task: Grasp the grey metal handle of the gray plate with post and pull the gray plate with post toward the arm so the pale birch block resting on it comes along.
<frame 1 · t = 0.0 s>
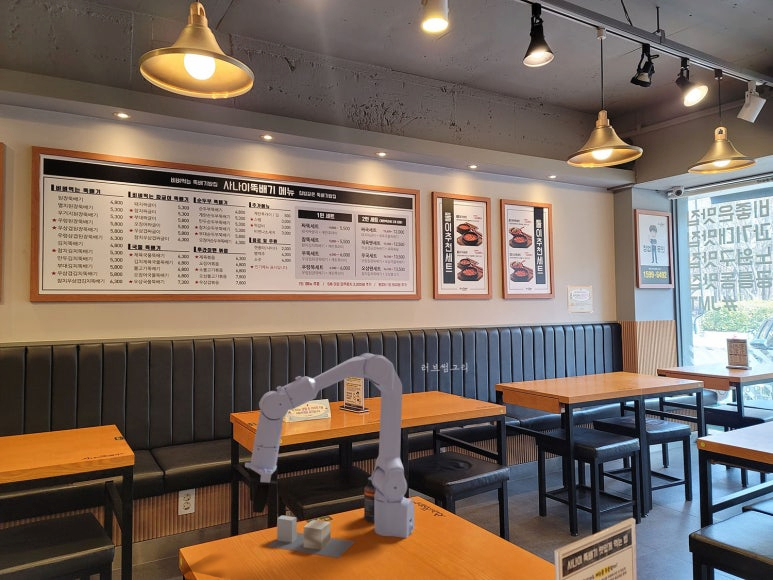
hand: (256, 506, 118), 11 cm above the table, tool pointing down, fingers open, 7 cm apart
birch block: (317, 544, 120), point 1 cm above the table, touching gray plate with post
gray plate with post: (311, 534, 121), point 3 cm above the table, slide at 0.0 cm, touching birch block
supplement bottle: (375, 523, 136), on the table
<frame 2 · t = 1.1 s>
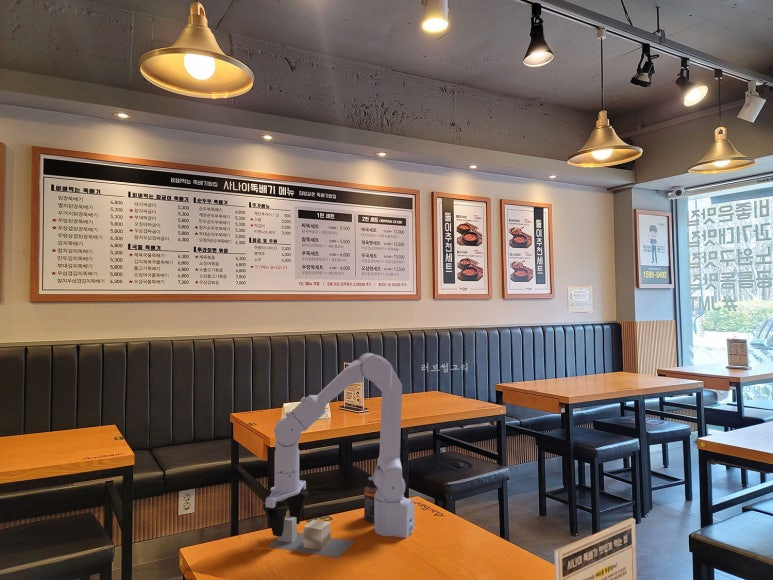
hand: (286, 529, 123), 3 cm above the table, tool pointing down, fingers open, 7 cm apart
nothing on the table moved.
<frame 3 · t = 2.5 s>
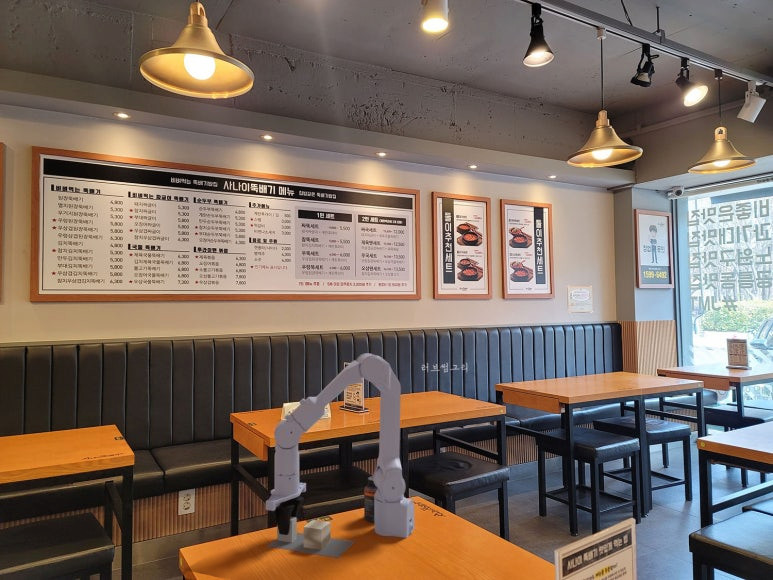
hand: (286, 531, 123), 3 cm above the table, tool pointing down, fingers closed on gray plate with post, 2 cm apart
gray plate with post: (311, 534, 121), point 3 cm above the table, slide at 0.0 cm, touching birch block, gripper
everything else where it was.
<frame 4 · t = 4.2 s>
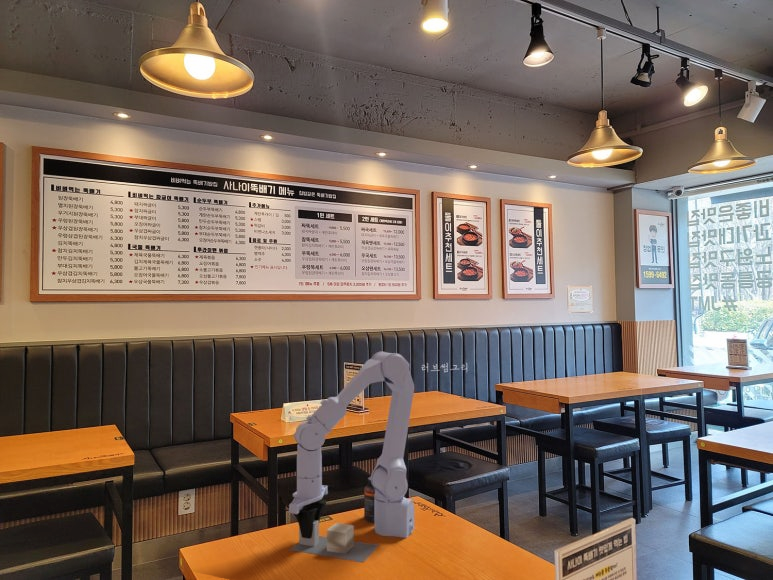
hand: (309, 535, 121), 3 cm above the table, tool pointing down, fingers closed on gray plate with post, 2 cm apart
birch block: (340, 548, 118), point 1 cm above the table, touching gray plate with post
gray plate with post: (334, 538, 119), point 3 cm above the table, slide at 5.9 cm, touching birch block, gripper
everything else where it was.
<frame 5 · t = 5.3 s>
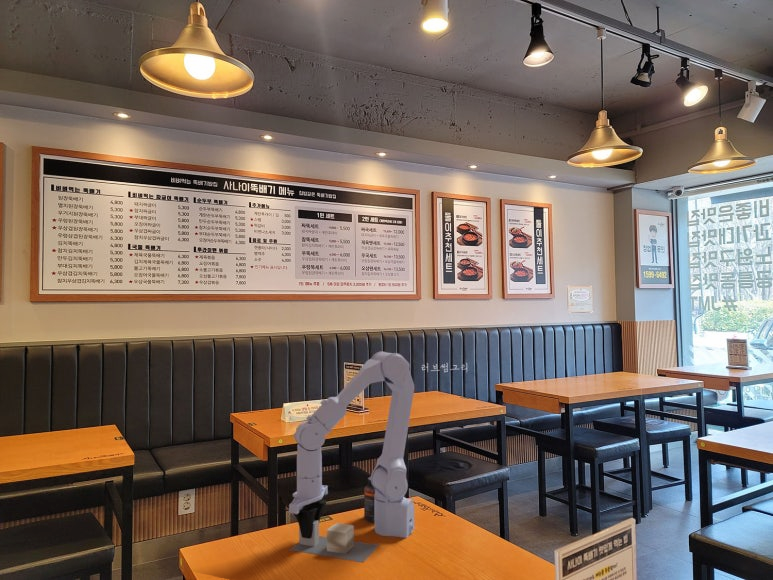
hand: (309, 535, 121), 3 cm above the table, tool pointing down, fingers closed on gray plate with post, 2 cm apart
gray plate with post: (334, 538, 119), point 3 cm above the table, slide at 5.9 cm, touching birch block, gripper
everything else where it was.
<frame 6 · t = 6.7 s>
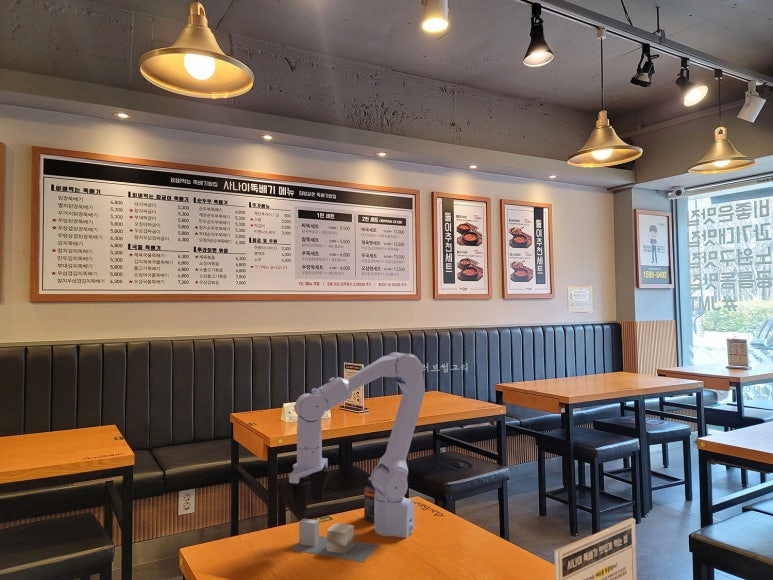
hand: (309, 506, 121), 9 cm above the table, tool pointing down, fingers open, 7 cm apart
gray plate with post: (334, 538, 119), point 3 cm above the table, slide at 5.9 cm, touching birch block
everything else where it was.
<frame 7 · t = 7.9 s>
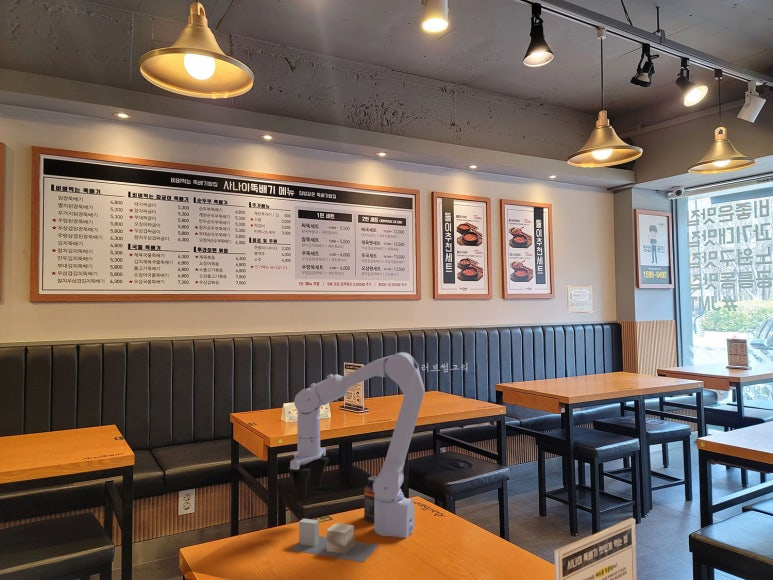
hand: (308, 491, 132), 9 cm above the table, tool pointing down, fingers open, 7 cm apart
nothing on the table moved.
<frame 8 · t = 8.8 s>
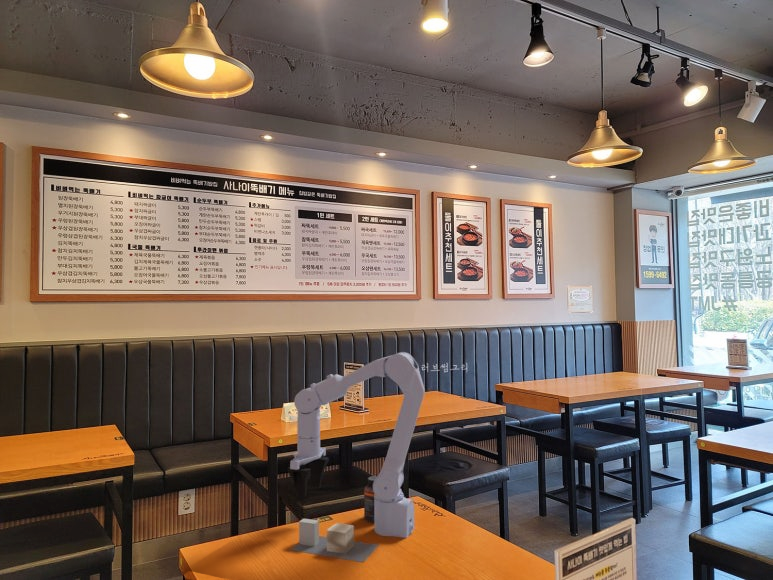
hand: (308, 491, 132), 9 cm above the table, tool pointing down, fingers open, 7 cm apart
nothing on the table moved.
at the end: gray plate with post slide at 5.9 cm; birch block inside the target area (0.3 cm from its centre), point 1.1 cm above the table; birch block tilted 0° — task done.
